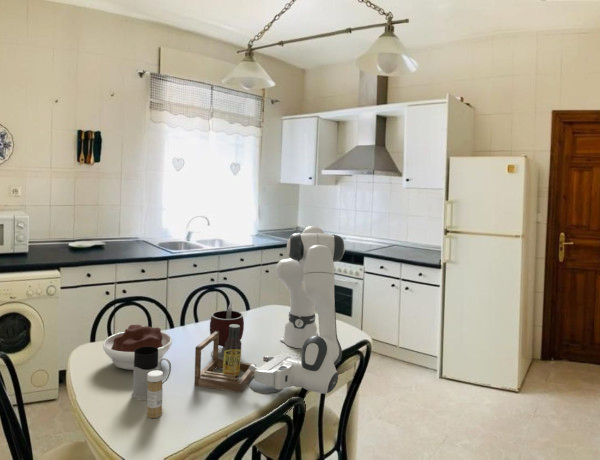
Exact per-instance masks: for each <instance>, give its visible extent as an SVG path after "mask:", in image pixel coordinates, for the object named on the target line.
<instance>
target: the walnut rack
mask: <svg viewBox="0 0 600 460" xmlns="http://www.w3.org/2000/svg"><path fill="white" fill-rule="evenodd" d="M213 340H214V341H213ZM211 343H213V345H212V346H213V349H212V351H213V357H212V360H211V361H210V362H209V363H208V364H207V365H206V366H205V367H204V368H203V369H201V368H202V367H201V365H202V351H203V349H204V348H206V347H207V346H208V345H210V344H211ZM219 348H220V347H219V332H218V331H215V332H214V333H212V334H211V335H209V336H208V337H206V338H205V339H204V340H202V341H201V342H200V343H199V344H198V345H196V346H195V348H194V349H195V353H194V354H195V356H194V384H193V385H194V386H195V387H202V388H206V389H207V388H209V389H214V390H215V389H216V390H223V391H228V392H234V393H241V392H242V391H243V389H245V386H247V384H249V383H250V381H251V380H252V378H253V376H254V372H253V371H250V370H249V366H250V365H251V364H253V365H256V366H257V363H249V362H244V361H243V362H242V361H240V372H243V373H244V374H243V375H242V376H241V378H240V379H238V382H236V381H229V380H222V379H216V378H209V377H202V376H203V373H206V371H210V372H215V370H216V369H222V370H223V360H222V359H218V349H219Z"/></svg>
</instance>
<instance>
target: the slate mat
mask: <svg viewBox="0 0 600 460" xmlns="http://www.w3.org/2000/svg"><path fill="white" fill-rule="evenodd" d="M248 384H249V388H250V389H251V390H252V391H254V392H256V393H261V394H274V393H278V392H280V391H281V390H282V389H276V388H275V386H268V385H265V384H261V383H258V382H256V381H255V379H254V378H253V379H250V380H249V383H248Z"/></svg>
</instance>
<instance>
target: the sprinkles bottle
mask: <svg viewBox="0 0 600 460" xmlns="http://www.w3.org/2000/svg"><path fill="white" fill-rule="evenodd" d="M163 379H164V372H163V371H162V370H160V369H159V370H155V371H151V372H149V373H148V374H147V380H148V389H147V401H146V405H147V410H146V411H147V413H146V416H147V417H148V418H151V419H155V418H156V419H157V418H160V417H161V416H162V414H163V408H162V407H163V384H162V383H163Z"/></svg>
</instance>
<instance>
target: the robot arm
mask: <svg viewBox="0 0 600 460" xmlns="http://www.w3.org/2000/svg"><path fill="white" fill-rule="evenodd" d="M345 249H346V247H345V242H344V239H343V238H342V237H341V236H340V235H337V234H328V233H324V231H323V229H322V228H320V227H319V226H315V225H309V226H307V227H305V228H304V230H302V232H295V233H292V234H291V235H290V236H289V238H288V240H287V244H286V251H287V255H288V257H289V258H283V259H280V260H279V261H278V262H277V264H276V266H275V275H276V278H277V279H278V280H279V281H280V282H281V283H282V284H283V285H284V286H285V287H286V289H287V291H288V293H289V301H290V302H289V305H290V308H289V311H288V321H287V322H286V323H285V325H284V335H283V336H281V337H280V340H279V341H280V342H282V343H284V344H285V345H287V346H289V347H291V348H295V349H301V358H299V357H298V356H296V355H294V354H291V353H287V352H280V354H277V355H265V356H263V358H262V359H263V362H265V363H263V364H262V365H261V366H257V364H256V365H253V364H254V363H251V365H250V366H249V370H250V371H253V372H254V375H253V376H254V377H253V379H255V381H256V382H258V383H261V384H265V385H268V386H275V388H276V389H281V390H282V389H285V388H290V387H294V388H295V387H296V388H303V389H305V390H306V391H310V392H313V393H317V394H323V395H324V394H329V393H331V392H332V391H333V390H334V389H335V388H336V386H337V384H338V380H339V373H338V371H337V368H336V366H337V365H338V364H339V363H340V361H341V360H342V356H343V349H342V345H341V343H340V341H339V339H338V332H337V319H336V317H337V316H336V306H335V305H336V304H335V262H340V261H341V260H342V259H343V257H344V254H345ZM315 309H316V311H317V315H318V326H317V323H316V312H315Z"/></svg>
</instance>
